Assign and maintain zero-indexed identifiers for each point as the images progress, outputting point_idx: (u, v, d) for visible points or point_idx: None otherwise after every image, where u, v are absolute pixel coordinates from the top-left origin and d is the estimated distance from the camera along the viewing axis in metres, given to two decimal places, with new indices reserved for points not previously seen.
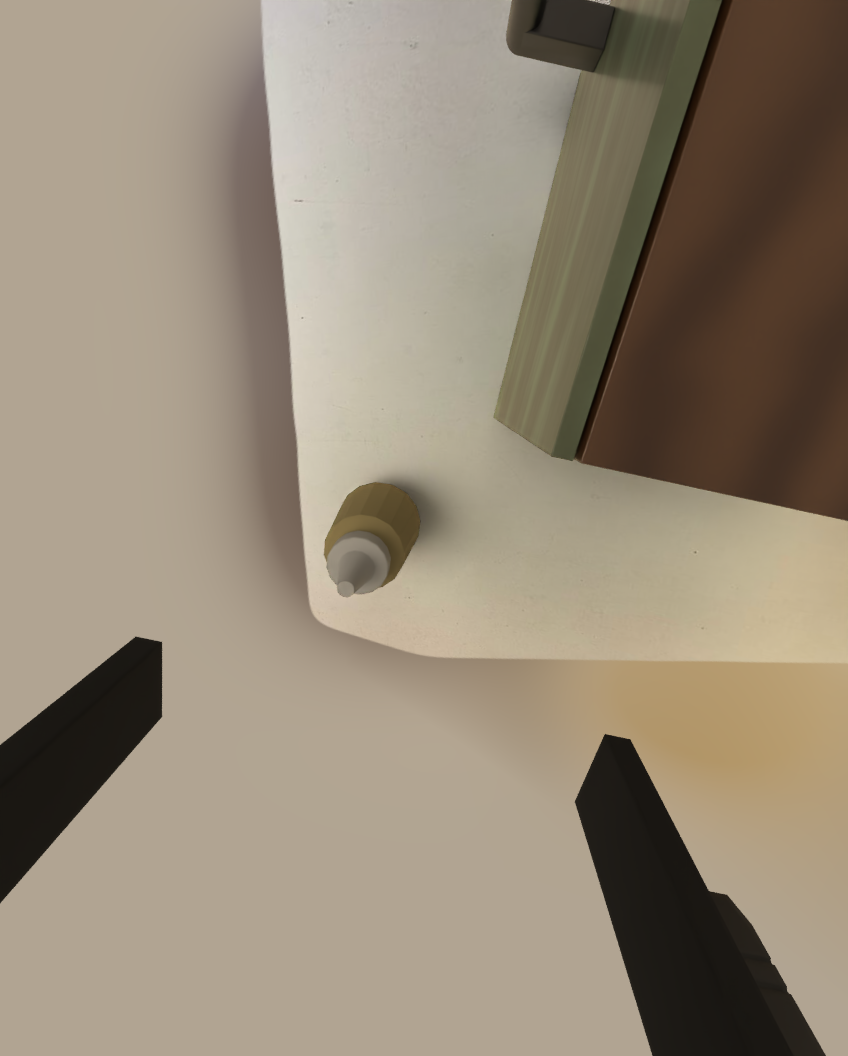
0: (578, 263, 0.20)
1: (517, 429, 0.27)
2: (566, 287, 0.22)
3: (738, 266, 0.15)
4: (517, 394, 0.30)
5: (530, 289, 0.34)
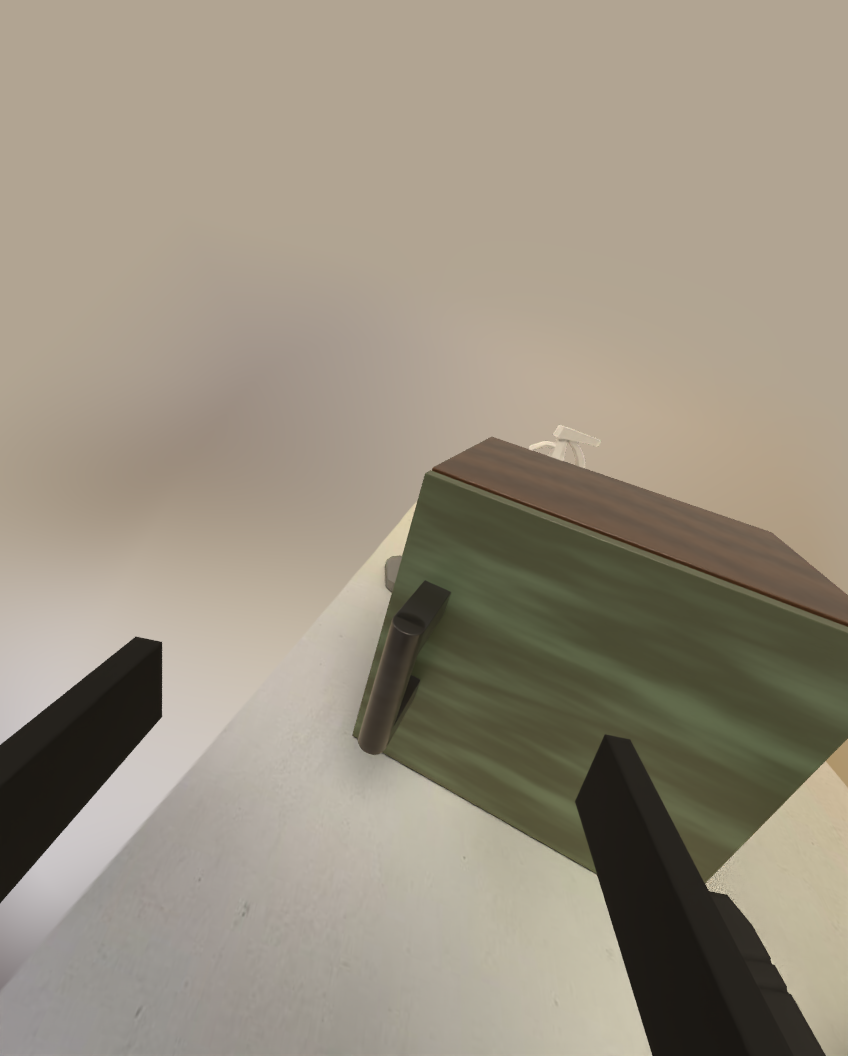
0: (677, 664, 0.24)
1: (795, 785, 0.24)
2: (681, 686, 0.24)
3: (719, 558, 0.26)
4: (720, 805, 0.26)
5: (544, 809, 0.31)
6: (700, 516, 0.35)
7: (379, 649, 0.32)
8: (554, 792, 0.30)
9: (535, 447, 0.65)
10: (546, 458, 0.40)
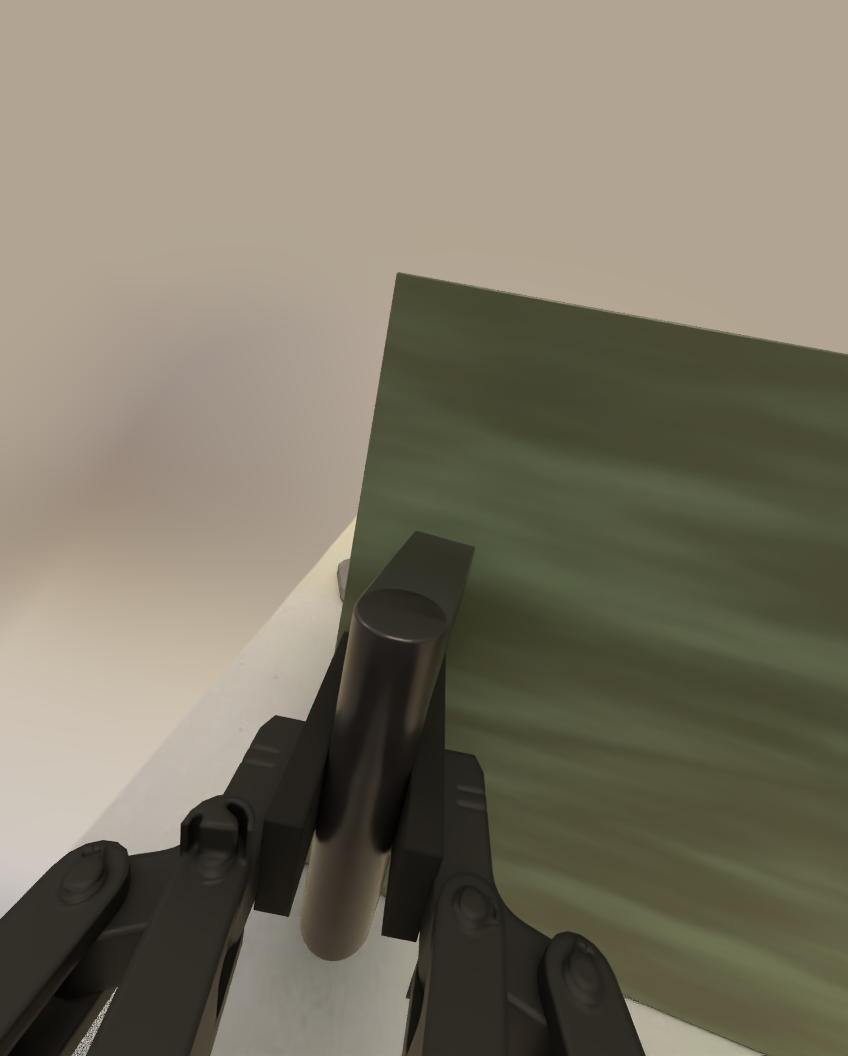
0: None
1: None
2: None
3: None
4: None
5: (689, 962, 0.16)
6: None
7: None
8: (710, 929, 0.15)
9: None
10: None
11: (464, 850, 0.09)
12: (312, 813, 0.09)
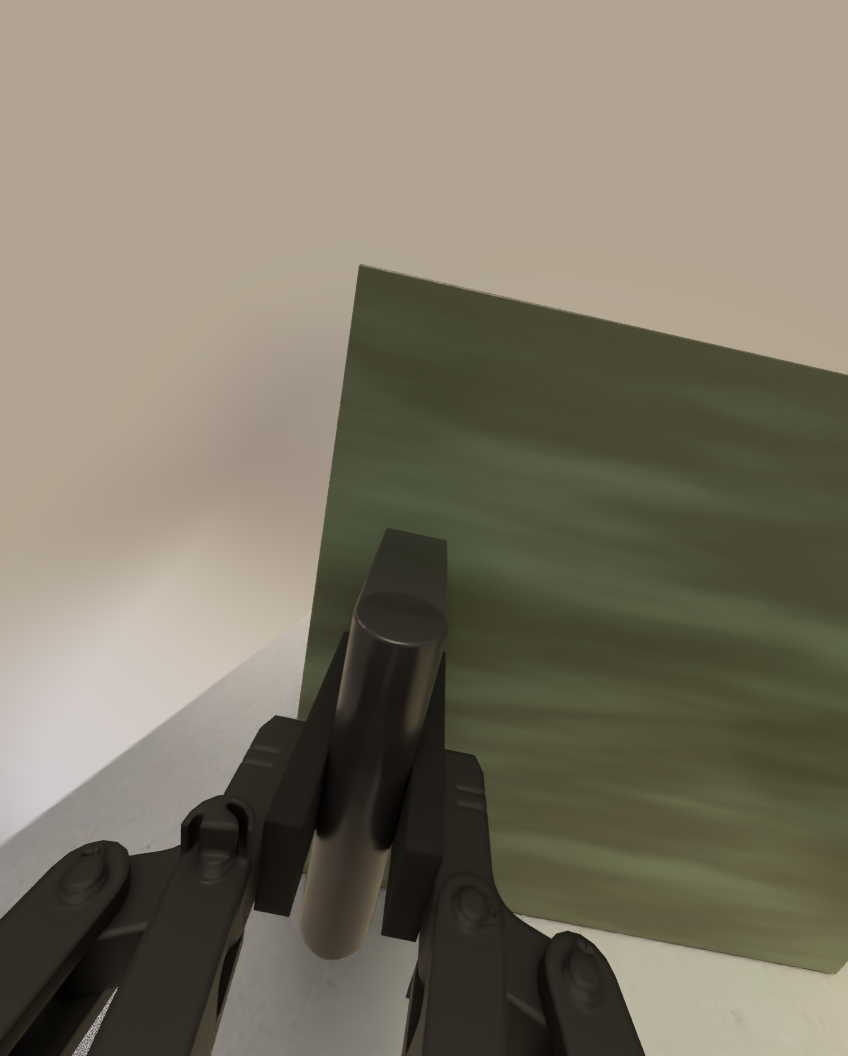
0: None
1: None
2: None
3: None
4: None
5: (641, 887, 0.18)
6: None
7: (306, 696, 0.16)
8: (658, 855, 0.18)
9: None
10: None
11: (464, 851, 0.09)
12: (312, 813, 0.09)
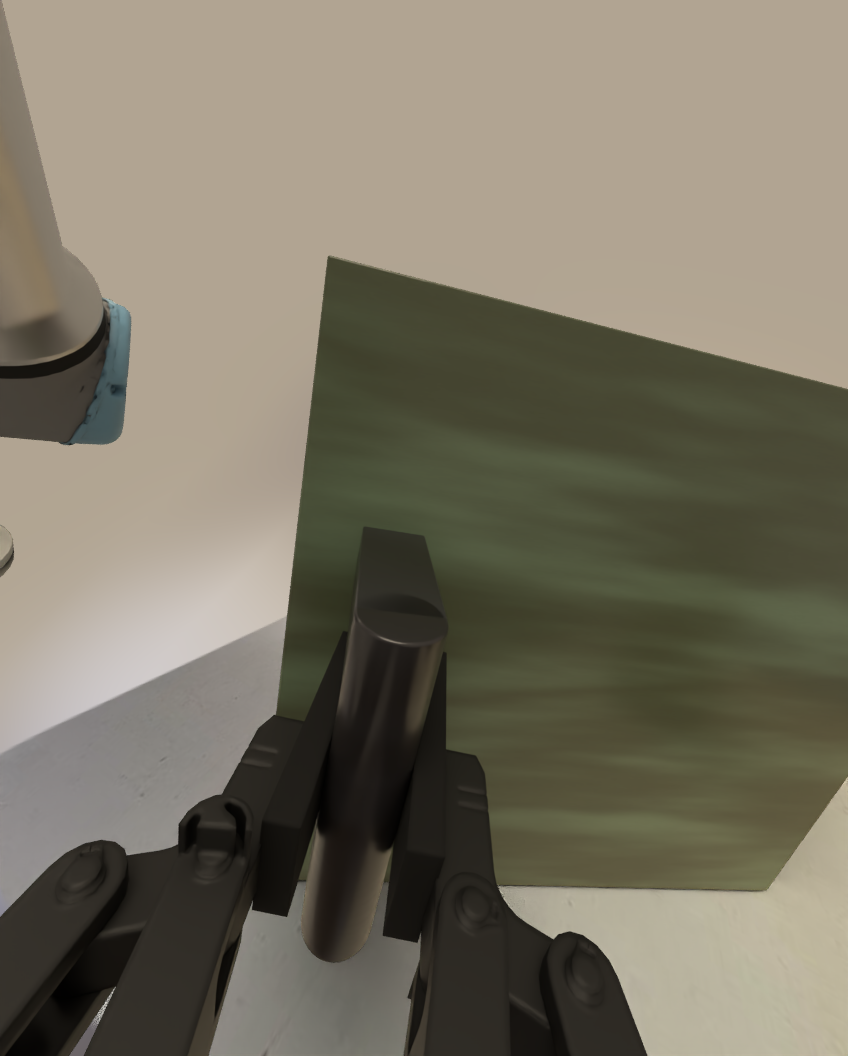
0: (803, 552, 0.15)
1: None
2: (805, 584, 0.16)
3: None
4: (835, 731, 0.19)
5: (608, 842, 0.20)
6: None
7: (284, 703, 0.15)
8: (622, 812, 0.19)
9: None
10: None
11: (466, 851, 0.09)
12: (310, 813, 0.09)
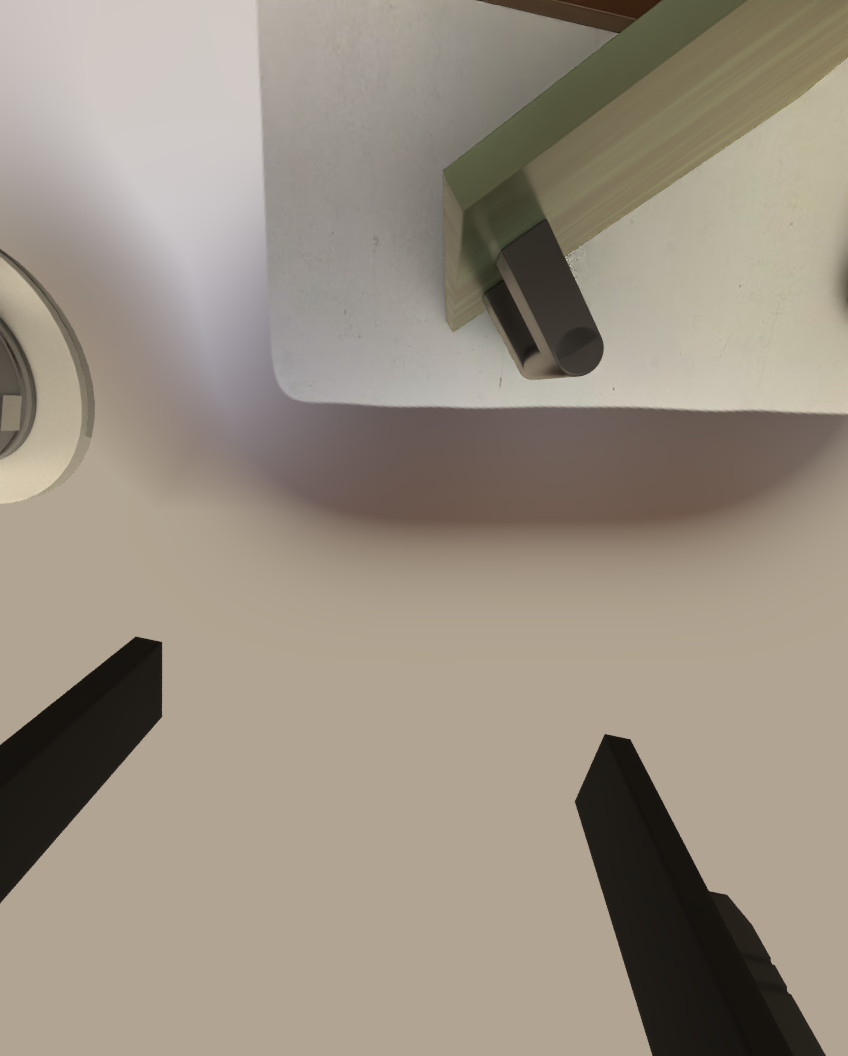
0: None
1: None
2: None
3: None
4: None
5: (666, 181, 0.27)
6: None
7: (458, 308, 0.24)
8: (682, 165, 0.25)
9: None
10: None
11: None
12: None
